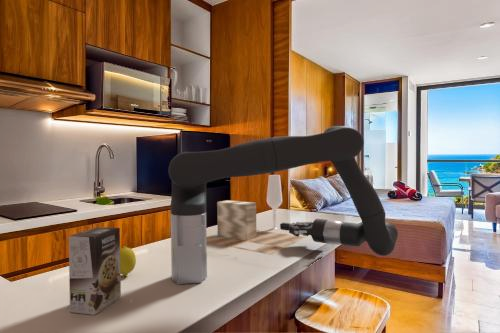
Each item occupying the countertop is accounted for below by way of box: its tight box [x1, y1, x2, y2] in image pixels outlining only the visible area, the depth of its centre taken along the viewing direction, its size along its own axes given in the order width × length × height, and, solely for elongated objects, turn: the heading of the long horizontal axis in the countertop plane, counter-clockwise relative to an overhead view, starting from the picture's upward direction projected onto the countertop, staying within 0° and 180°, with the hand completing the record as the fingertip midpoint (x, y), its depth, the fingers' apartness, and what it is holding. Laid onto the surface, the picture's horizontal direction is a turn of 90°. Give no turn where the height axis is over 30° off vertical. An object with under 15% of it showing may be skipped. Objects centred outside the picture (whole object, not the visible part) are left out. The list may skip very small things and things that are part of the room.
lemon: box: [120, 245, 137, 277], centre depth 89 cm, size 6×6×8 cm
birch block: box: [216, 199, 257, 240], centre depth 126 cm, size 14×6×13 cm, turn 56°
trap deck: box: [206, 229, 306, 255], centre depth 123 cm, size 32×26×2 cm
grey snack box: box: [68, 226, 122, 316], centre depth 72 cm, size 9×6×16 cm
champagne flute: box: [266, 174, 283, 230], centre depth 139 cm, size 7×7×24 cm
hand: (281, 226), depth 115 cm, fingers closed
